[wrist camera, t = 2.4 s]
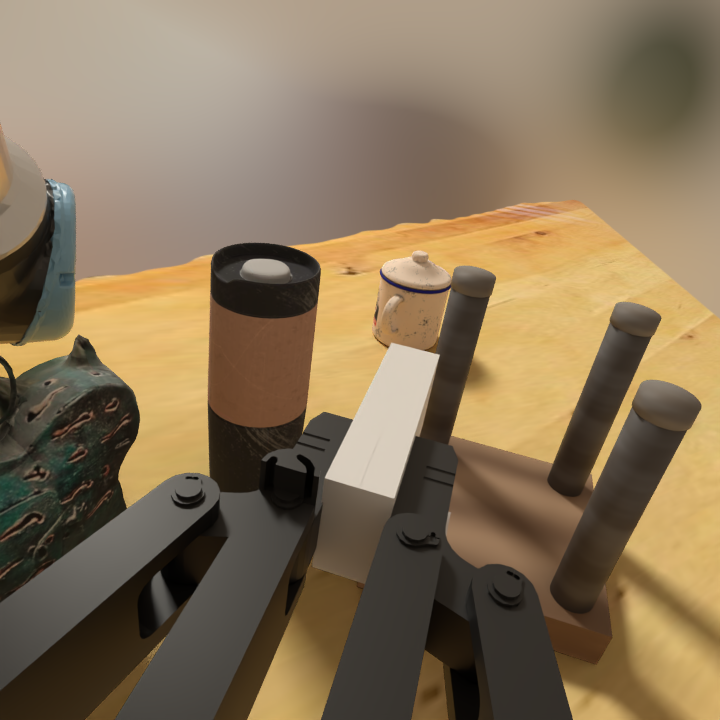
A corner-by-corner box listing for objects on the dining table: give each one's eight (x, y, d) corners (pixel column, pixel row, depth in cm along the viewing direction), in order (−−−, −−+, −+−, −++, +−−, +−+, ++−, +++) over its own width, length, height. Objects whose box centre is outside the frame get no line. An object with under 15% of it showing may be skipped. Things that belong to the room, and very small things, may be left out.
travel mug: (301, 457, 54) (326, 250, 43) (291, 518, 47) (318, 292, 37) (218, 446, 53) (223, 235, 43) (196, 507, 47) (196, 275, 36)
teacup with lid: (389, 313, 82) (403, 234, 77) (448, 335, 79) (468, 254, 73) (346, 344, 73) (359, 256, 67) (411, 370, 70) (430, 280, 64)
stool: (401, 448, 57) (445, 256, 47) (580, 499, 54) (667, 306, 44) (355, 586, 42) (405, 350, 32) (596, 664, 40) (730, 433, 30)
